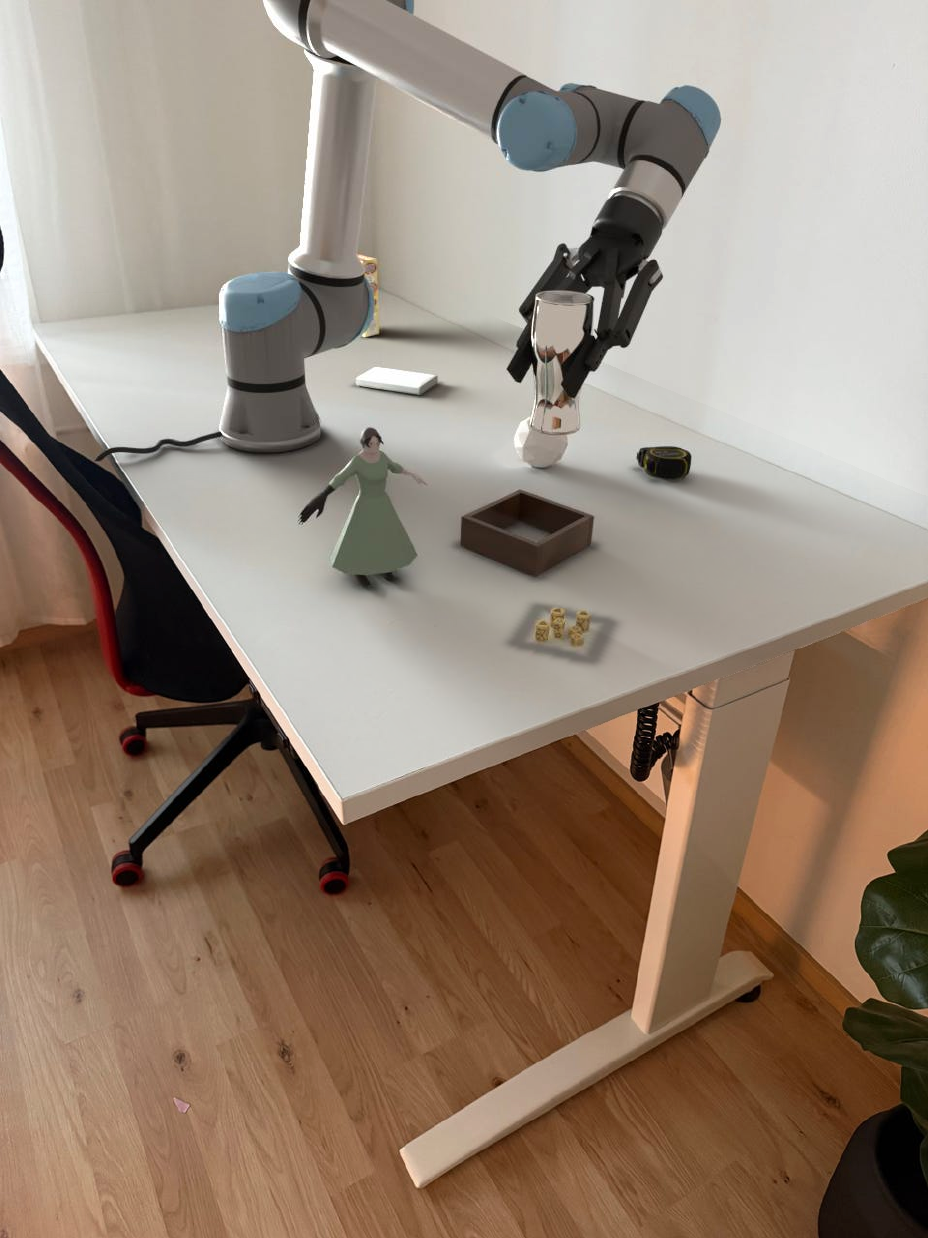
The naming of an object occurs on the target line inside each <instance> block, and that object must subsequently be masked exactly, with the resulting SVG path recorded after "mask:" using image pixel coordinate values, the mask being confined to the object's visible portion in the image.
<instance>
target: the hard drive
mask: <svg viewBox="0 0 928 1238" xmlns="http://www.w3.org/2000/svg"><path fill="white" fill-rule="evenodd" d="M438 380H439V379H438V375H436V374H428V373H421V372H416V371H415V372H414V371H407V370H400V369H394V368H385V367H379V366H374V367H373V368H370V369H369V370H367V371H365V372H364V373H362V374H361V375H359V376H357V377H356V379H355V386H358V387H359V386H361V387H365V388H372V389H378V390H384V391H391V392H396V393H397V392H398V393H404V394H409V395H418V396H421V395H423V394H425V392H427V391H428V390H430V389H431V388H432V387H434V386H436V385H437V384H438Z"/></svg>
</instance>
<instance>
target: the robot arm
mask: <svg viewBox="0 0 928 1238" xmlns="http://www.w3.org/2000/svg"><path fill="white" fill-rule="evenodd" d="M262 2H263V5H264V8H265V10H266V13H267V16H268V17H269V19H270V21H271V22H272V24H273V26H275V28H276V29H277V30H278V31H279V32H280V33H281V34H282V35H283V36H285V37H286V38H287V39H289V40H290V41H291V42H293V43H295V44H297V45H299V46H301V47H303V48H304V51H303V52H304V54H305V56H306V57H307V59H308V60H309V62H310V63H311V65H312V67H313V70H314V71H313V83H312V95H311V105H310V107H311V108H310V119H309V132H308V146H307V157H306V158H307V159H306V170H305V181H304V183H305V184H304V194H303V195H304V196H303V207H302V218H301V230H300V231H301V232H300V242H299V243H300V245H299V247H297V248H296V249H295V250H293V251H292V252H290V254H289V256H288V264H287V265H288V266H287V272H284V271H278V270H277V271H276V270H275V271H273V270H272V271H271V270H267V271H266V270H265V271H260V272H258V273H255V272H252V273H246V274H243V275H239V276H237V277H235V278H232V279H230V280H229V281H227V282H226V283H225V284H224V285H223V286H222V288H221V289H220V292H219V295H218V296H219V297H218V299H219V300H218V301H219V312H218V320H219V323H220V331H221V339H222V340H221V341H222V347H223V348H222V349H223V357H224V364H225V374H226V375H225V376H226V385H227V390H226V395H225V399H224V404H223V408H222V413H221V417H220V422H219V430H218V431H215V432H211V433H208V434H205V435H201V436H197V437H195V438H192V439H190V440H178V439H174V438H161V439H159V440H158V441H156V442H155V443H154V444H153V445H152V446H149V447H133V446H112V447H108V448H106V449H104V450H102V451H101V452H100V453H99V454H98V455H97V456H96V457H95V458H94V462H101V461H103V460H104V459H105V458H106V457H108V456H109V455H112V454H117V453H126V454H137V455H145V454H146V455H147V454H153V453H155V452H157V451H158V450H160V449H161V447H162V446H164V445H172V446H175V447H181V448H185V447H191V446H192V447H193V446H195V445H197V444H201V443H203V442H207V441H210V440H214V439H218V438H220V441H222V443H223V444H224V445H226V446H228V447H229V448H232V449H235V450H238V451H244V452H248V453H249V452H250V453H261V454H262V453H263V454H264V453H265V454H266V453H267V454H269V453H270V454H271V453H272V454H273V453H282V452H283V453H284V452H289V451H295V450H299V449H302V448H305V447H308V446H310V445H312V444H314V443H315V442H316V441H318V440H319V439H320V436H321V424H322V421H321V418H320V416H319V413H318V412H317V410H316V408H315V405H314V403H313V401H312V399H311V396H310V392H309V391H308V387H307V383H306V367H305V366H306V363H305V359H307V358H311V357H312V356H316V355H319V354H321V353H325V352H327V351H330V350H333V349H335V350H336V349H341V348H344V347H346V346H348V345H349V344H351V343H353V342H354V341H356V340H359V339H360V338H361V337H363V336H362V335H363V334H364V333H365V332H366V331H367V329H368V328H369V326H370V324H371V322H372V319H373V316H374V310H375V300H374V294H373V291H371V290H370V288H369V286H370V283H369V281H368V280H367V278H366V277H365V266H364V265H363V263H362V262H361V261H360V259H359V258H358V256H357V254H358V250H359V249H358V248H359V239H360V232H361V223H362V214H363V205H364V197H365V189H366V181H367V180H366V179H367V171H368V163H369V156H370V155H369V154H370V146H371V139H372V138H371V137H372V128H373V122H374V121H373V120H374V114H375V113H374V111H375V105H376V103H375V102H376V94H377V85H378V81H379V80H381V81H383V82H384V83H386V84H388V85H389V86H392V87H394V88H395V89H397V90H399V91H400V92H403V93H405V94H406V95H408V96H409V97H411V98H413V99H415V100H416V101H419V103H420V102H421V103H422V104H424V105H426V106H428V107H429V108H431V109H432V110H435V111H436V112H438V113H440V114H442V115H444V116H445V117H447V118H449V119H451V120H453V121H454V122H456V123H458V124H460V125H462V126H463V127H465V128H467V129H469V130H471V131H472V132H474V133H475V134H478V135H479V136H481V137H483V138H485V139H487V140H489V142H492V143H494V144H496V145H498V147H499V149H500V151H501V152H502V155H503V157H504V159H506V161H507V162H508V163H509V164H510V165H512V166H513V167H514V168H516V169H519V170H521V171H526V172H529V171H530V172H536V173H542V172H548V171H551V170H554V169H557V168H562V167H563V168H564V167H567V166H576V165H581V164H587V163H598V164H603V165H608V166H611V167H615V168H619V169H622V172H621V173H620V175H619V177H618V179H617V180H616V182H615V184H614V186H613V187H612V189H611V190H610V192H609V194H608V199H606V200H605V202H604V204H603V205H602V207H601V209H600V210H599V212H598V214H597V216H596V217H595V219H594V221H593V223H592V225H591V230H590V234H589V237H587V239H586V240H585V241H584V242H582V244H580V245H579V247H569V248H568V245H567V244H566V243H565V242H564V243H563V242H562V243H560V244H558V245H557V247H556V249H555V253H554V255H553V258H552V260H551V262H550V263H549V264H548V266H547V268H546V269H545V271H544V272H543V273H542V274H541V276H540V277H539V279H538V280H537V282H536V283H535V284H534V286H533V288H532V289H531V291H530V292H529V293H528V294H527V296H526V297H525V299H524V300H523V301H522V303H521V305H520V306H519V308H518V313H519V314H520V315H521V317H522V319H523V320H524V322H525V323H526V325H525V327H524V328H523V330H522V332H521V333H520V335H519V337H518V339H517V340H516V344H515V347H516V348H517V349H516V351H515V353H514V354H513V356H512V358H511V360H510V361H509V363H508V365H507V367H506V371H507V372H508V373H509V375H510V376H511V378H512V379H513V380H514V381H515V383H518V384H522V382H523V380H524V379H525V377H526V375H527V373H528V372H529V370H530V368H531V366H532V358H531V329H532V320H533V312H534V306H535V298H536V297H535V296H536V294H538V293H540V292H543V291H551V290H567V291H577V292H582V293H586V294H588V292H589V291H590V290H591V289H592V288H599V287H601V288H602V289H603V295H602V300H601V305H600V311H599V317H598V323H597V328H593V332H594V333H595V335H596V336H595V335H594V334H593V335H589V334H588V336H587V338H586V340H585V341H584V343H583V345H582V347H581V349H580V350H579V352H578V354H577V356H576V357H575V359H574V361H573V363H572V365H571V366H570V368H569V370H568V372H567V373H566V375H565V377H564V379H563V380H562V382H561V386H562V387H563V389H564V390H565V392H566V393H567V395H568V396H569V397H570V398H574V399H575V397H576V395H577V394H578V392H579V390H580V388H581V389H582V387H583V385H584V383H585V381H586V379H587V377H588V376H589V374H590V373H591V372H592V373H594V372H596V371H597V370H598V369H599V367H600V365H601V363H602V362H603V360H604V358H605V356H606V355H607V353H608V351H609V350H611V349H612V348H613V347H620V348H621V349H625V348H628V347H629V346H630V344H631V341H632V339H633V337H634V335H635V332H636V330H637V328H638V325H639V323H640V320H641V319H642V316H643V313H644V311H645V309H646V306H647V304H648V302H649V299H650V298H651V295H652V293H653V291H654V290H655V289H656V287H657V286H658V285H659V284H660V283H661V281H662V280H663V279H664V274H663V272H662V269H661V267H660V264H659V262H658V261H657V260H656V259H650V260H648V259H649V257H650V256H651V254H652V253H653V251H654V250H655V248H656V246H657V244H658V243H659V240H660V238H661V236H662V235H663V231H664V230H665V229H666V227H667V226H668V224H669V222H670V220H671V219H672V216H673V215H674V214H675V211H676V209H677V208H678V206H679V204H680V202H681V200H682V199H683V197H684V195H685V193H686V191H687V189H688V188H689V186H690V184H691V182H692V181H693V179H694V178H695V176H696V174H697V173H698V171H699V169H700V167H701V165H703V162H704V160H705V159H707V157H708V155H709V153H710V149H711V147H712V145H713V143H714V140H715V139H716V136H717V134H718V132H719V130H720V127H721V123H722V116H721V111H720V108H719V105H718V104H717V102H716V101H715V100H714V98H713V97H712V96H711V95H710V94H709V93H707V92H706V91H705V90H703V89H701V88H700V87H696V86H694V85H686V84H684V85H682V86H675V87H673V88H671V89H670V90H669V91H668V92H667V93H666V95H665V96H664V97H663V98H662V99H661V101H659V103H657V102H655V101H651V100H642V99H637V98H633V97H630V96H627V95H624V94H619V93H617V92H616V93H615V92H612V91H608V90H605V89H601V88H598V87H596V86H595V85H591V84H588V85H586V84H580V83H579V84H578V83H574V82H569V83H565V84H563V85H561V87H560V88H559V90H555V89H553V88H551V87H550V86H547V85H546V84H544V83H542V82H540V81H538V80H536V79H534V78H532V77H529V76H528V75H527V74H525V73H523V72H522V71H520V70H517V69H515V68H514V67H513V66H510V65H509V64H506V63H505V62H503V61H501V60H499V59H497V58H496V57H493V56H491V55H489V54H488V53H485V52H483V50H480V49H478V48H477V47H474V46H473V45H471V44H469V43H467V42H465V41H463V40H461V39H460V38H457V37H456V36H454V35H452V34H450V33H448V32H447V31H444V30H442V29H441V28H439V27H437V26H435V25H433V24H431V23H430V22H428V21H425V20H424V19H422V18H420V17H419V16H416V15H414V11H415V0H262ZM635 276H636V277H635ZM634 277H635V279H634V281H633V283H632V285H631V288H630V290H629V292H628V294H627V297H626V300H625V301H624V304H623V306H622V309H621V304H622V300H623V299H624V297H625V291H626V287H627V281H629V280H631V279H632V278H634ZM620 309H621V311H620ZM581 386H582V387H581Z"/></svg>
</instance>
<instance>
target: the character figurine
mask: <svg viewBox="0 0 928 1238" xmlns="http://www.w3.org/2000/svg"><path fill="white" fill-rule="evenodd" d="M359 443H360V445H361V447H362V450H361V451H360V452H359V453H358V454H355V456H353V457H352V459H351V460H349V462H348V463H347V464H346V465H345V467H344V468H343V469H342V470H341V471H339V472H338V473H337V474H336V475H335V476H334V477H333V478H332V479H331V480H330V482H329V483H328V485H327V486H326V487H325V488H324V489H323V491H321V492H319V493H318V494H316V495H315V496H314V497H313V498H312V499H311V500H310V501H309V502H308V503H307V504H306V505H305V506H304V508H303V509H302V510H301V512H300V514H299V515H298V517H297V518H298V520H297V522H298V525H300V526H302V525H303V524H304V523H306V522H307V521H308V520H309V519H310V518H311V516H312V515H314V514H315V512H317V510H318V512H317V514H316V516H315V519H318V518H319V517H320V516H321V515H322V514H323V512H324V509H325V505H326V502H327V500H328V499H327V498H328V496H330V495H331V494H332V493H334V492H335V491H336V490H338V489H339V488H340V487H342V486H344V485H345V484H346V483H347V481H348V480H349V479H350V478H351V477H353V476H354V475H355V479H356V481H357V483H358V488H359V492H358V495H357V496H356V498H355V500H354V502H353V505H352V508H351V510H350V512H349V515H348V517H347V519H346V521H345V523H344V526H343V528H342V531H340V532H341V533H340V535H339V537H338V539H337V542H336V544H335V546H334V548H333V550H332V552H331V555H330V558H329V559H330V560H329V561H330V564H331V568H333V569H335V570H337V571H339V572H342V573H344V574H346V575H353V578H354V580H355V581H356V582H357V583H358V585H360V586H363V587H369V586H370V585H371V582H370V580H369V578H368V576H373V575H380V576H382V577H383V578H384V579H386V580H387V581H393V580H394V579H395V577H394V574H393V572H394V571H397V570H400V569H402V568H404V567H407V566H409V565H410V564H412V562H413V561H414V560H415V559H416V558H417V557H418V552H417V550H416V548H415V545H414V543H413V542H412V540H411V538H410V535H409V533H408V532H407V530H406V528H405V526H404V524H403V523H402V520H401V518H400V517H399V514H398V513H397V511H396V508H395V506H394V505H393V502H392V500H391V497H390V495H389V493H388V492H387V491H386V487H387V479H388V476H389V475H388V474H389V471H390V472H391V473H392V474H396V475H401V474H402V475H405V476H406V475H407V476H410V477H411V478H412V479H413V480H414V481H415V482H416V484H418V485H420V486H421V484H423V485H424V486H425V487H426V486H428V484H427V482H426V481H424V479H422V478H421V477H420V476H419V475H417V474H416V473H414V472H411V471H410V470H407V469H406V468H405V467H404V466H402V465H401V464H400V463H398V462H395V461H393V460H392V459H391V458H390V457H389V456H388V455H387V454H386V453H385V452H384V451H383V450H380V446H381V444H382V445H384V441H383V439H382V436H381V434H380V433H379V432H378V430H377V429H376V428H375V427H371V426H369V427H365V429H363V430H362V432H361V434H360V438H359Z"/></svg>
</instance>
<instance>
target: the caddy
mask: <svg viewBox="0 0 928 1238" xmlns="http://www.w3.org/2000/svg"><path fill="white" fill-rule="evenodd" d="M460 518H461V519H460V543H459V544H460V547H462V548H465V549H467V550H470V551H471V552H474V553H477V554H479V555H481V556H484V557H486V558H488V559H491V560H493V561H496V562H497V563H501V564H502V565H504V566H507V567H510V568H513V569H515V570H517V571H519V572H522V573H524V574H527V575H529V576H532V577H534V578H536V577H538V576H540V575H541V574H543V573H545V572H546V571H548V570H550V569H552V568H554V567H555V566H557V565H559V564H560V563H562V562H564V561H565V560H567V559H569V558H571V557H573V556H574V555H576V554H578V553H580V552H581V551H584V550H585V549H586V548H588V547H591V546H592V539H593V530H594V521H595V515H593V514H591V513H587V512H585V511H582V510H579V509H577V508H574V507H571V506H569V505H566V504H562V503H559V502H557V501H555V500H551V499H549V498H546V497H543V496H540V495H537V494H534V493H532V492H530V491H526V490H523V489H520V488H519V489H517V490H515V491H513V492H511V493H509V494H506V495H505V496H502V497H500V498H498V499H496V500H494V501H491V502H490V503H487V504H485V505H483V506H481V507H479V508H476V509H474V510H471V511H470V512H467V513H466V514H463V515H462V516H461V517H460ZM517 522H521V523H525V524H527V525H530V526H532V527H535V528H538V529H540V530H542V531H545V532H547V533H550V534H549V535H547V536H546V537H544V538H542V539H540V540H538V541H533V540H531V539H529V538H526V537H524V536H521V535H518V534H516V533H514V532H510V531H508V530H506V529H505V528H508V527H509V526H511V525H514V524H515V523H517Z"/></svg>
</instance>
